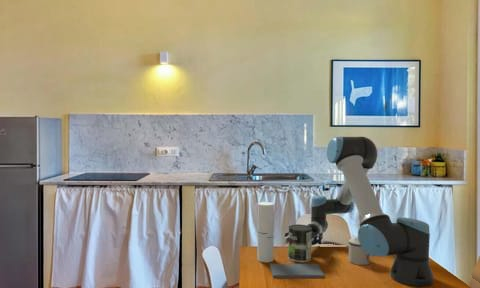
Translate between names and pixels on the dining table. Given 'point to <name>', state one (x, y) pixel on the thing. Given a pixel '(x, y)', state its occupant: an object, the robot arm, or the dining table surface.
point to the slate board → (296, 271)
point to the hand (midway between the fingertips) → (296, 243)
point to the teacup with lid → (357, 253)
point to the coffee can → (299, 243)
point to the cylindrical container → (265, 232)
